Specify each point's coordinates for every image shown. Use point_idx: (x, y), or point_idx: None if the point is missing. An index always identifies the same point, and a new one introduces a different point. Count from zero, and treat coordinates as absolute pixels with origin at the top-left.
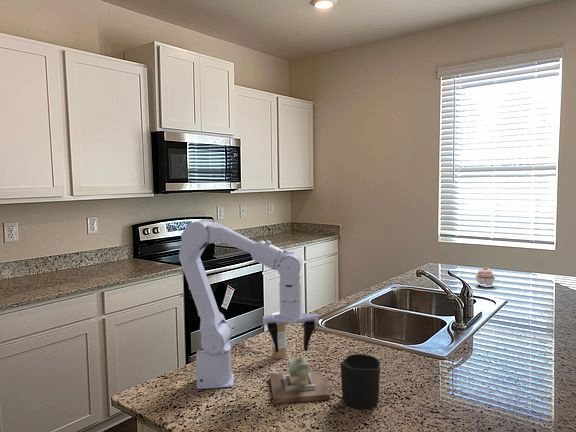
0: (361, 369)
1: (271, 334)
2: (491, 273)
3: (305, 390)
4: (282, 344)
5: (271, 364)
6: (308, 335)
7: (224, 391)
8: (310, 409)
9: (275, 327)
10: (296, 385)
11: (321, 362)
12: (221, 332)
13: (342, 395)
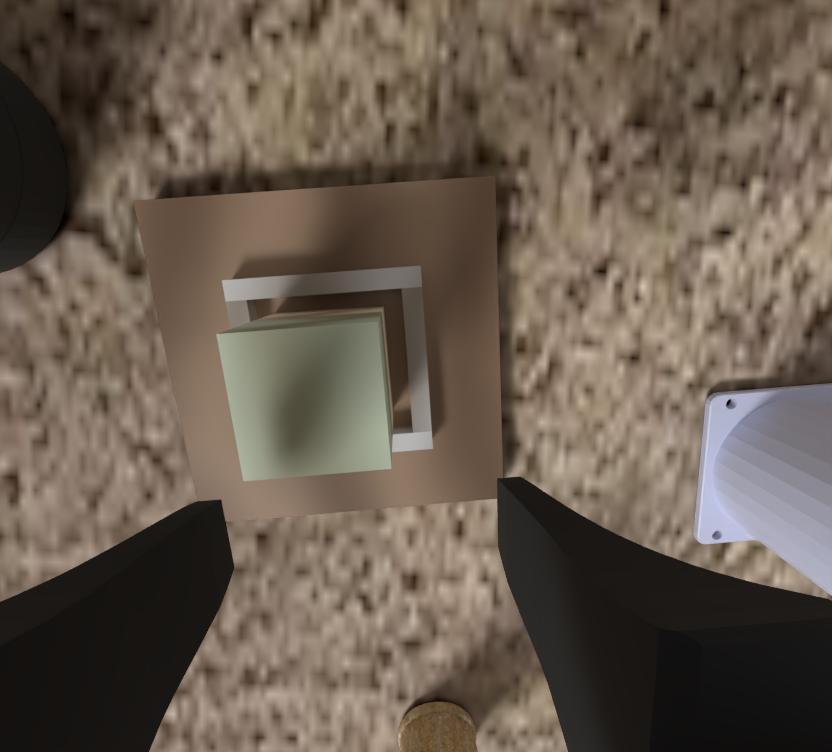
0: None
1: (710, 573)
2: None
3: (294, 269)
4: None
5: (482, 642)
6: (34, 603)
7: (751, 349)
8: (274, 83)
9: (713, 733)
10: (348, 309)
11: (206, 655)
12: None
13: (42, 153)
